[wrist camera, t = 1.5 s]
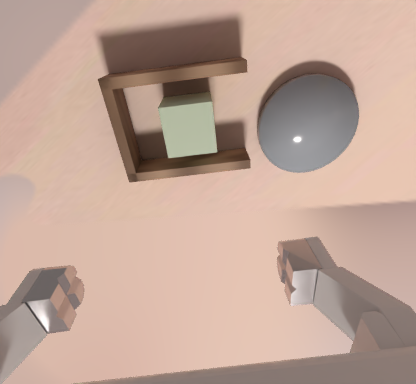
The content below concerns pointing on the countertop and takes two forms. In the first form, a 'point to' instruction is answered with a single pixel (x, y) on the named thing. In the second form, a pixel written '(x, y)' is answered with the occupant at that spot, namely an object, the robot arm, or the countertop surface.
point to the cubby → (125, 133)
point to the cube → (188, 124)
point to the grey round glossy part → (307, 122)
